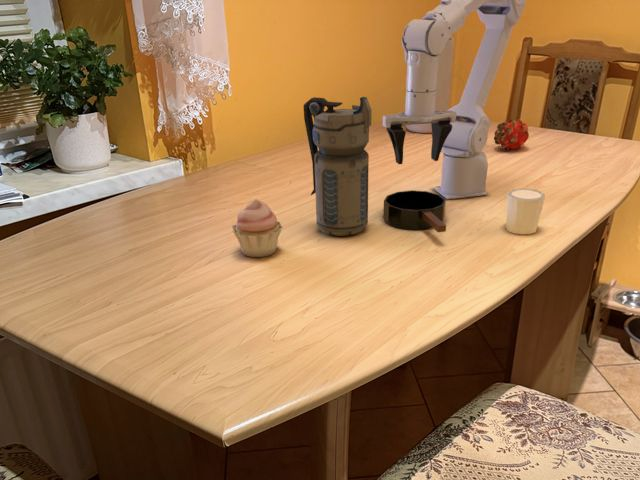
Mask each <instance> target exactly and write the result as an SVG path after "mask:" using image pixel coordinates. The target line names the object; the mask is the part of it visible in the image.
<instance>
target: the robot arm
mask: <svg viewBox="0 0 640 480" xmlns="http://www.w3.org/2000/svg"><path fill="white" fill-rule="evenodd" d="M526 4H527V0H440V4H438V5H437V6H435V7H434V8H433V9H432V10H429V11H427V12H426V13H425V15H424V16H423V17H422V18H421V19H419V18H418V19H416V18H414V19H412V20H410V22H409V23H407V24H406V26H405V27H404V30H403V33H402V36H401V37H400V38H401V39H400V40H401V47H402V49H403V52H404V62H405V63H406V83H405V106H404V112H398V113H392V114H388V115H386V114H385V115H382V127H383V128H385V129H386V132H387V134H388V137H389V138H390V142H391V144H392V148H393V151H394V159H395V163H396V164H397V165H403V163H404V144H405V138H406V132H407V131H406V130H404V127H403V126H406V125H417V124H430V123H431V125H432V133H431V136H432V137H431V151H430V158H431V160H433V161H434V162H438V161H439V159H440V155H441V153H442V164H441V177H440V179H441V180H440V185H438V186H433V190H435V191H436V192H437V194H439V195H440V196H442V197H443V198H444V199H445V200H454V199H464V198H473V197H482V196H486V195H487V192H486V186H487V179H488V178H487V177H488V168H489V163H488V156H487V154H486V153H485V152H484V151H483V150H484V149H485V147H486V146H487V141H488V138H489V135H488V134H489V130H490V127H491V121H490V118H489V117H488V116H487V114H486V112H485V111H484V108H485V105H486V103H487V101H488V99H489V98H488V97H489V95H490V92H491V89H492V87H493V84H494V81H495V79H496V77H497V73H498V71H499V69H500V66H501V63H502V60H503V57H504V54H505V52H506V49H507V47H508V43H509V41H510V38H511V35H512V33H513V30H514V27H515V25H517V24H519V22H520V20H521V16H522V14H523V11H524V8H525V6H526ZM475 11H476V13H477V16H478V19H479V21H480V22H481V23H482V24H483V25H485V32H484V34H483V37H482V40H481V42H480V45H479V48H478V51H477V53H476V56H475V58H474V62H473V64H472V67H471V70H470V72H469V76H468V78H467V81H466V83H465V87H464V89H463V91H462V94H461V97H460V101H459V102H458V103H457V104H456V105H454V106H452V107H451V108H450V107H449V110H447V111H435V100H436V85H437V70H438V56H439V53H442V51H443V49H444V47H445V45H446V42H447V41H448V40H449V38H450V37H452V36H453V35H455V34H456V33H457V32H458V31H460V29H462V28H463V27H464V25H465V24H466V20H467V17H468V16H469V15H470V14H472V13H473V12H475ZM412 121H413V122H412Z"/></svg>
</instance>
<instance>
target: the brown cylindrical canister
mask: <svg viewBox="0 0 640 480" xmlns="http://www.w3.org/2000/svg"><path fill="white" fill-rule="evenodd" d="M359 101H360V102H359V105H355V104H352V105H351V108H338V107H340V106H341V105H343V102H341V101H340V102H338V101H328V100H327V99H326V98H324V97H315V96H313V97H310V99H308V100H307V101H306V102H305V103H304V104H303V120H304V126H305V131H306V136H307V141H308V146H309V152H310V157H311V162H312V185H313V189H312V191H311V193H310V196H313V195H314V194H315V215H316V216H315V218H316V219H315V220H316V225H317V227H318V229H319V231H321V232H322V233H324V234H327V235H331V236H337V237H346V236H348V237H349V236H353V235H357V234H359V233H361V232H363V231H364V230H365V229H366V227H367V225H368V224H369V167H370V166H369V164H370V163H369V160H370V159H369V158H370V156H369V152H368V151H367V150H366V146H367V145H368V144H369V142H370V127H371V126H372V107H371V105H370V102H369V99H368V97H367V96H361V97H360V98H359ZM325 107H326V108H327V109H326V110H325Z"/></svg>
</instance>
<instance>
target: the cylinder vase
mask: <svg viewBox="0 0 640 480" xmlns="http://www.w3.org/2000/svg"><path fill="white" fill-rule="evenodd" d="M454 46H455V38H454V37H452V36H450V38H449V40H448V41H447V42H446V45H445V47H444V49H443V51H442V53H439V56H438V70H437V85H436V100H435V111H447V110H449V109H450V98H451V85H452V71H453V59H454ZM412 122H413V121H412ZM405 128H406V129H407V130H408V131H410V132H413V133H417V134H432V125H431V123H430V124H417V125H405Z"/></svg>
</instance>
